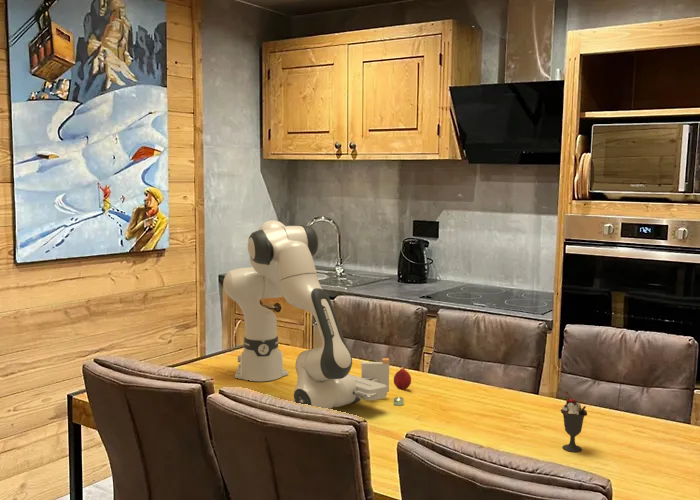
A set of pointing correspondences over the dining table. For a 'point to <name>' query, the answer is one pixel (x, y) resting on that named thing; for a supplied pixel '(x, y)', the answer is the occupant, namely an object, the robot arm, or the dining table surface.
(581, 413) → the sundae
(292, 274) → the robot arm
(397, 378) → the onion
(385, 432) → the dining table surface
